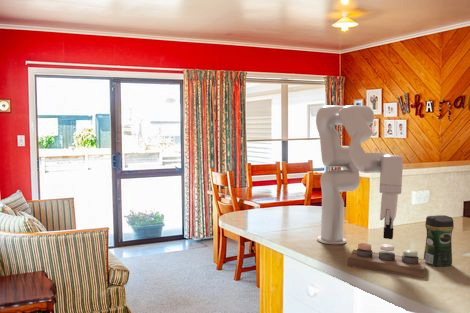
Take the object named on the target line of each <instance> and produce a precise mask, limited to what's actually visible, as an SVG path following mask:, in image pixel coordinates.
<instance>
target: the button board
mask: <svg viewBox="0 0 470 313" xmlns="http://www.w3.org/2000/svg"><path fill="white" fill-rule="evenodd" d="M347 267H353V268H360V269H366V270H372V271H377V272H386V273H390V274H391V273H392V274H399V275H404V276H405V275H406V276H412V277H416V278H417V277H418V278H425V270H426V263H425V259H424V258H419V256H415V257H412V256H406V255H404V254H402V255H396V254H395V253H394V252H393V251H385V250H381V251H379V252H375V251H373V250H372V249H371V250H361V249H359V248H358V247H357V249H352V251H351V253H350V254H349V256H348V257H347Z"/></svg>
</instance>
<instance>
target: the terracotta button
mask: <svg viewBox="0 0 470 313" xmlns="http://www.w3.org/2000/svg"><path fill="white" fill-rule="evenodd" d="M358 248H359V249H361V250H372V245H371V244H368V243H358V245H357V249H358Z"/></svg>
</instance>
